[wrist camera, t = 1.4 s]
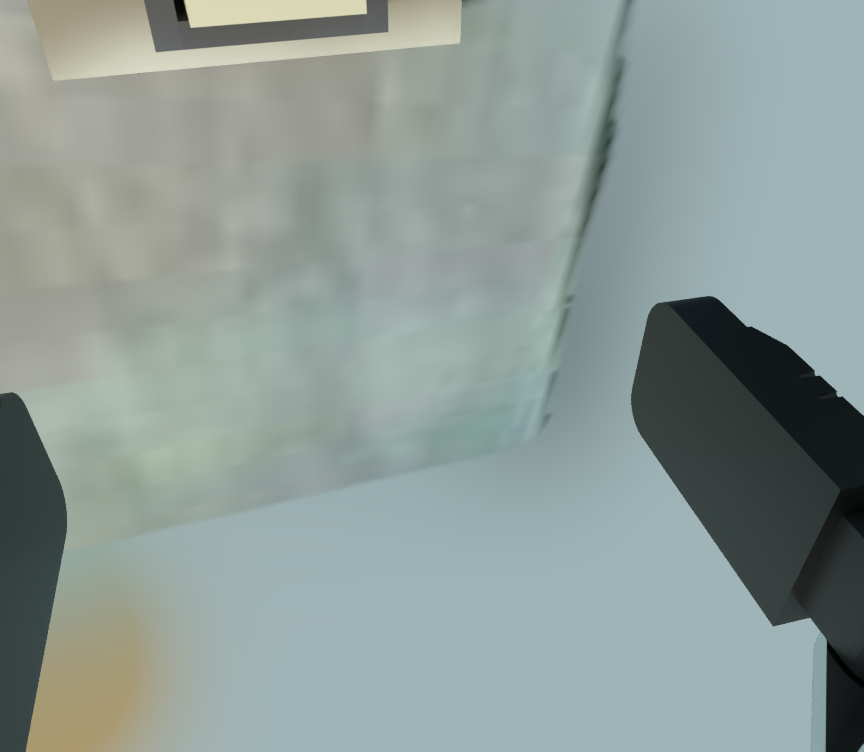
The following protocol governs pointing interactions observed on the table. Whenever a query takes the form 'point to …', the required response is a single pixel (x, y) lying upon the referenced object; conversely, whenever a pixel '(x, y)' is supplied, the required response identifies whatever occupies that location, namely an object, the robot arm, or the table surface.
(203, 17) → the button three
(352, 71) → the table surface
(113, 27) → the button board
